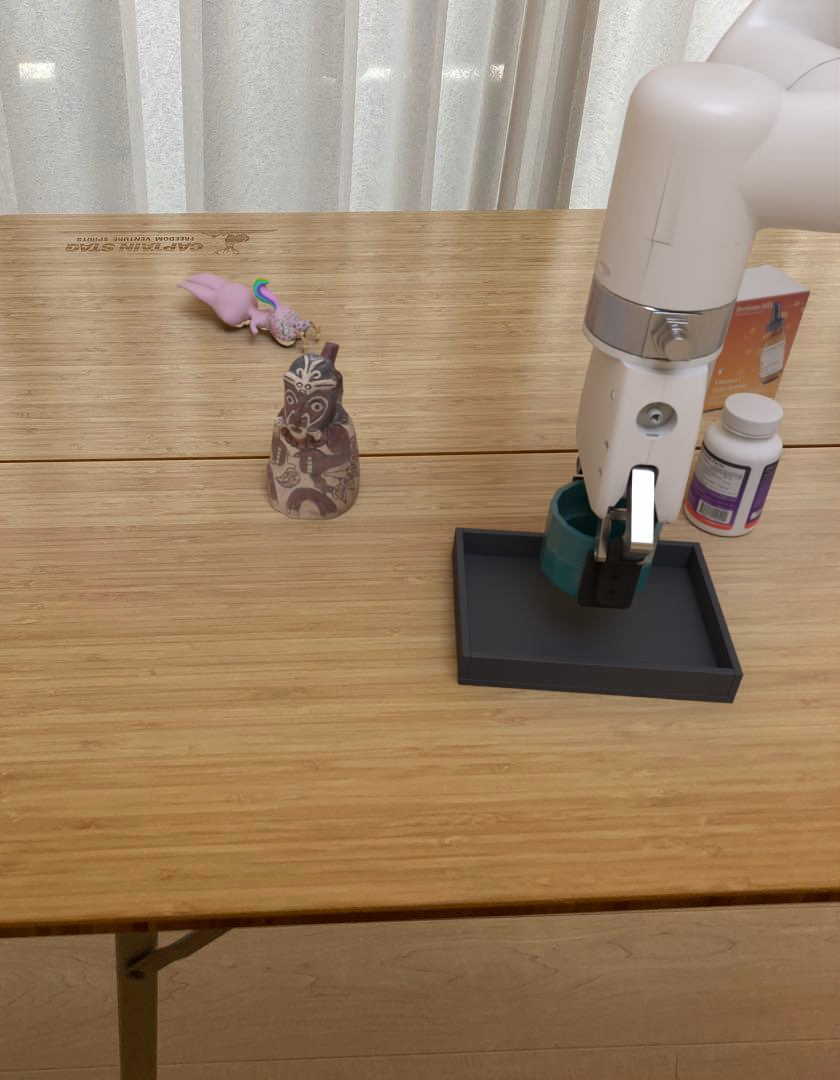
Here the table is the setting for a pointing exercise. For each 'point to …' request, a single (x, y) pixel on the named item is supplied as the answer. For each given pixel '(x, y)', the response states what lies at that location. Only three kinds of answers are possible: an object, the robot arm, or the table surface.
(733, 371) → the small box
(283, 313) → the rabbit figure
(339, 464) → the figurine
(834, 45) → the robot arm
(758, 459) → the pill bottle
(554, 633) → the tray
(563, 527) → the cup
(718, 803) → the table surface
